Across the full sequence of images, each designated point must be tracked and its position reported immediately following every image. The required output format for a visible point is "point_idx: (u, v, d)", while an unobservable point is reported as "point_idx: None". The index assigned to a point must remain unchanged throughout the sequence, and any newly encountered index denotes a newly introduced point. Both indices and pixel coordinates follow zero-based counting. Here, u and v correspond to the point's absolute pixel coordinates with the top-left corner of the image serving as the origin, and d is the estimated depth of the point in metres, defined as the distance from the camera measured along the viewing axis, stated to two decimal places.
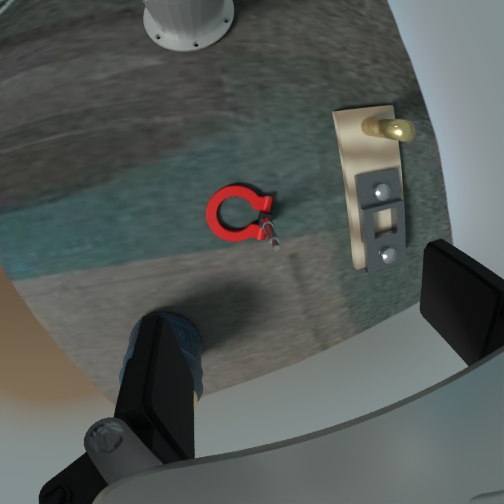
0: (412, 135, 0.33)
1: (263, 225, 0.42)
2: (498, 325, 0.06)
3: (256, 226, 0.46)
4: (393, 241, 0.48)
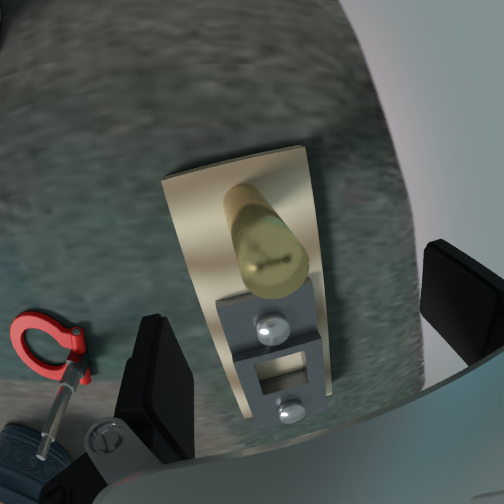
0: (298, 277, 0.13)
1: (60, 386, 0.21)
2: (498, 325, 0.06)
3: None
4: (301, 393, 0.28)
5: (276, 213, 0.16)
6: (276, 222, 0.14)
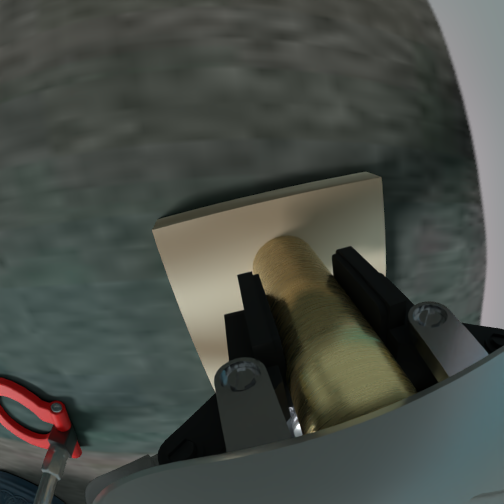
0: None
1: (42, 471, 0.14)
2: (390, 338, 0.08)
3: None
4: None
5: (368, 324, 0.08)
6: (390, 373, 0.06)
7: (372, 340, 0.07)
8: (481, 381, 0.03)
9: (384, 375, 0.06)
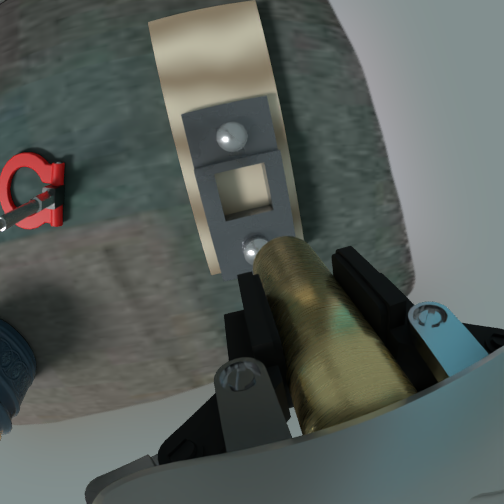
0: None
1: None
2: (390, 338, 0.08)
3: None
4: (266, 226, 0.29)
5: (369, 325, 0.08)
6: (391, 375, 0.06)
7: (373, 341, 0.07)
8: (481, 381, 0.03)
9: (385, 376, 0.06)
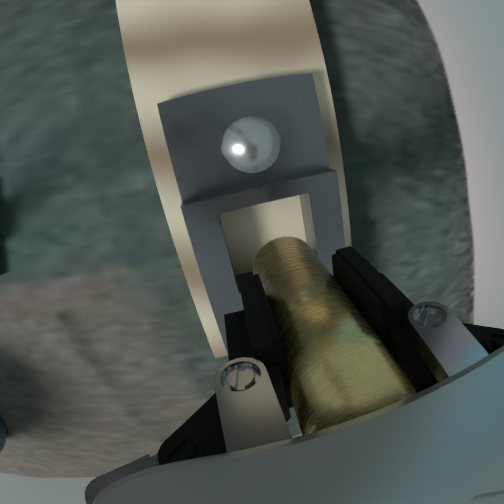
0: None
1: None
2: (390, 338, 0.08)
3: None
4: None
5: (369, 325, 0.08)
6: (391, 375, 0.06)
7: (372, 341, 0.07)
8: (481, 381, 0.03)
9: (384, 377, 0.06)
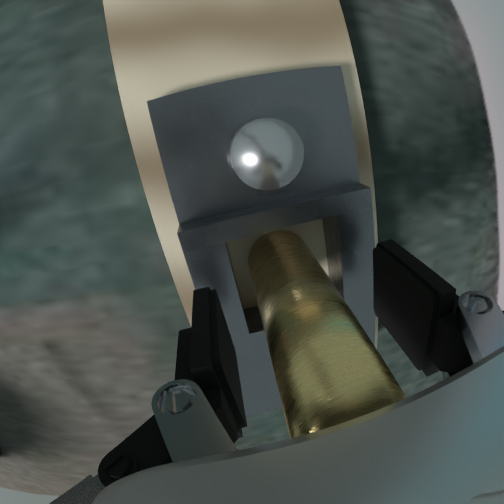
0: None
1: None
2: (439, 327, 0.07)
3: None
4: None
5: (350, 312, 0.08)
6: (365, 357, 0.06)
7: (351, 326, 0.08)
8: (481, 381, 0.03)
9: (359, 358, 0.06)
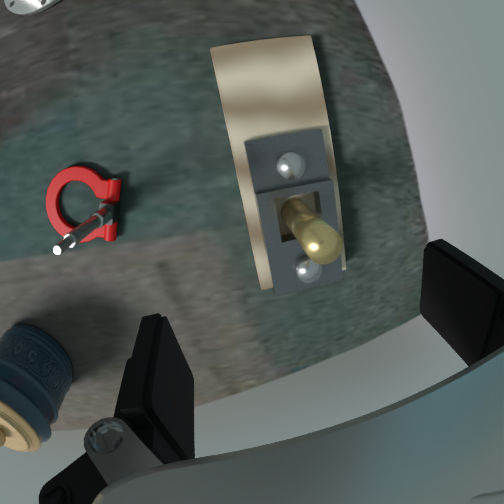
0: (336, 252, 0.23)
1: None
2: (498, 325, 0.06)
3: None
4: None
5: (321, 218, 0.26)
6: (324, 222, 0.24)
7: (320, 218, 0.25)
8: (481, 381, 0.03)
9: (322, 222, 0.24)
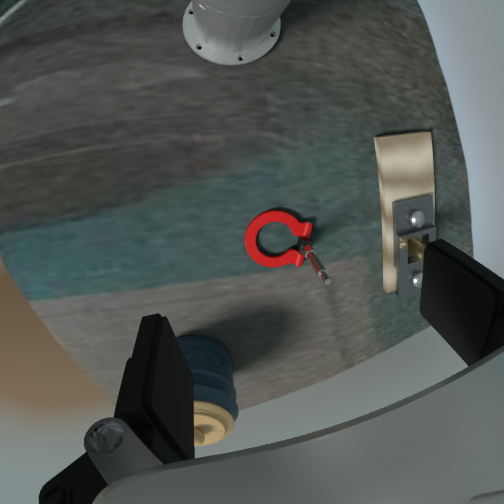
0: None
1: (306, 253, 0.41)
2: (498, 325, 0.06)
3: (295, 252, 0.45)
4: None
5: None
6: None
7: None
8: (481, 381, 0.03)
9: None
